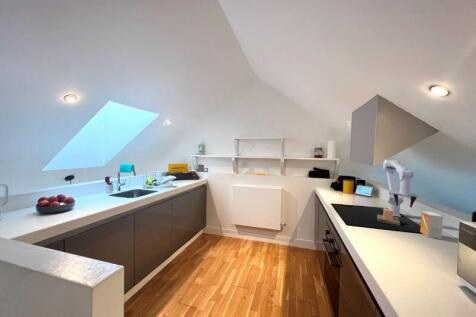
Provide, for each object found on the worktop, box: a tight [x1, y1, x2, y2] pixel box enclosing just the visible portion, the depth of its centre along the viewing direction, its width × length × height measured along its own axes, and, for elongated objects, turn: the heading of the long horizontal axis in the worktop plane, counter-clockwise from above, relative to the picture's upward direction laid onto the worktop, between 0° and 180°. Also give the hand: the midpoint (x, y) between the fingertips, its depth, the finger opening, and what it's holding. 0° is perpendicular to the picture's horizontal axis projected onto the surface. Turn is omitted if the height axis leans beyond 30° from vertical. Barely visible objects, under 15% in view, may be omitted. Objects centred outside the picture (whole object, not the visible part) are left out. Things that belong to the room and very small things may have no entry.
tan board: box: [376, 214, 401, 226], centre depth 143 cm, size 12×12×2 cm
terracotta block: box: [382, 208, 394, 220], centre depth 143 cm, size 5×5×6 cm
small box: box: [420, 210, 444, 240], centre depth 119 cm, size 8×6×13 cm
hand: (403, 206), depth 144 cm, fingers open, 7 cm apart
